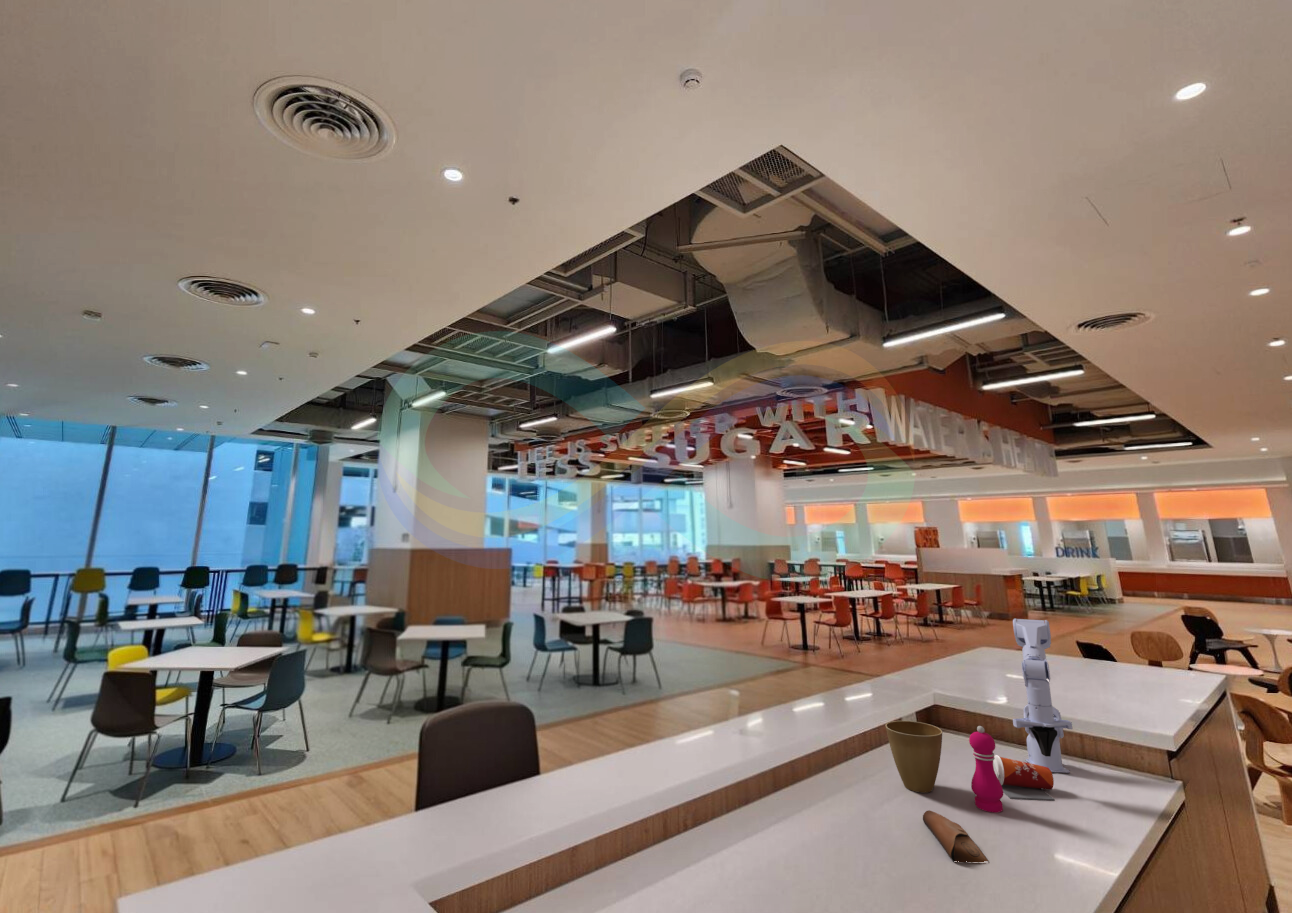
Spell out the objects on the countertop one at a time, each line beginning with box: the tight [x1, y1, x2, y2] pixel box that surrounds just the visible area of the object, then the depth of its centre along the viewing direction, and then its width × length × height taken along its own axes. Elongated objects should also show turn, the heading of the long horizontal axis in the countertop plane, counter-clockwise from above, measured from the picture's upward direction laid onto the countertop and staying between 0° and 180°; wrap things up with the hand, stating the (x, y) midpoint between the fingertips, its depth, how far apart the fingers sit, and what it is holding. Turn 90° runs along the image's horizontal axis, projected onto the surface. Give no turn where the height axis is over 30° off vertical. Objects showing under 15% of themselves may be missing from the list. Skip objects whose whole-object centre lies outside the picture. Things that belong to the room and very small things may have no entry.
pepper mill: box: [968, 725, 1004, 814], centre depth 147 cm, size 7×7×20 cm
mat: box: [1001, 785, 1056, 802], centre depth 157 cm, size 16×11×1 cm
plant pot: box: [885, 720, 943, 794], centre depth 160 cm, size 15×15×16 cm
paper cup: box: [993, 754, 1055, 791], centre depth 157 cm, size 8×8×14 cm
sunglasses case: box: [922, 809, 989, 862], centre depth 129 cm, size 18×7×7 cm, turn 173°
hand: (1046, 755), depth 156 cm, fingers closed
